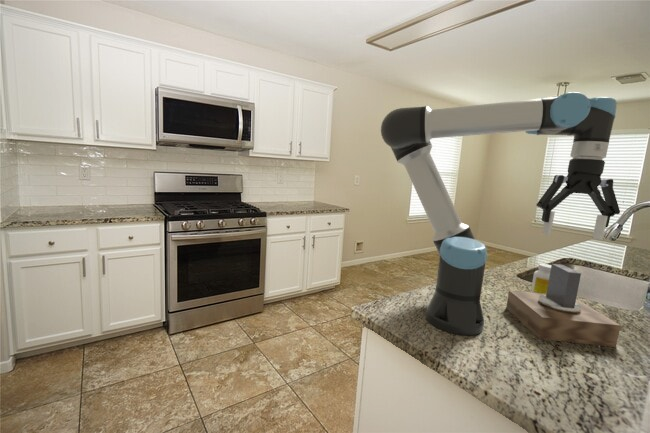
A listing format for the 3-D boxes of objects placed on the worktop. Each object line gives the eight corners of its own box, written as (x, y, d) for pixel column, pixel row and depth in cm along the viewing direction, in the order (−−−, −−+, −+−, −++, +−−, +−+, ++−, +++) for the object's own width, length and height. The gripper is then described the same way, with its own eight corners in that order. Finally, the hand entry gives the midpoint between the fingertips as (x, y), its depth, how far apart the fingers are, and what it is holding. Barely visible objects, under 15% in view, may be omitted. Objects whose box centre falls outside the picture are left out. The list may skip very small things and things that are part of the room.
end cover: (547, 328, 89) (557, 272, 87) (528, 312, 99) (537, 261, 97) (586, 332, 88) (597, 275, 86) (563, 315, 98) (573, 264, 96)
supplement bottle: (556, 306, 108) (562, 269, 106) (534, 303, 109) (540, 267, 107) (546, 299, 115) (553, 264, 113) (526, 296, 116) (532, 261, 114)
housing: (538, 338, 85) (542, 317, 84) (506, 308, 104) (509, 290, 103) (615, 347, 84) (620, 325, 83) (568, 314, 102) (572, 296, 101)
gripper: (546, 154, 84) (532, 234, 87) (649, 162, 82) (630, 243, 85) (531, 155, 91) (518, 229, 95) (625, 162, 90) (608, 237, 93)
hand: (571, 236), depth 90 cm, fingers open, 13 cm apart
